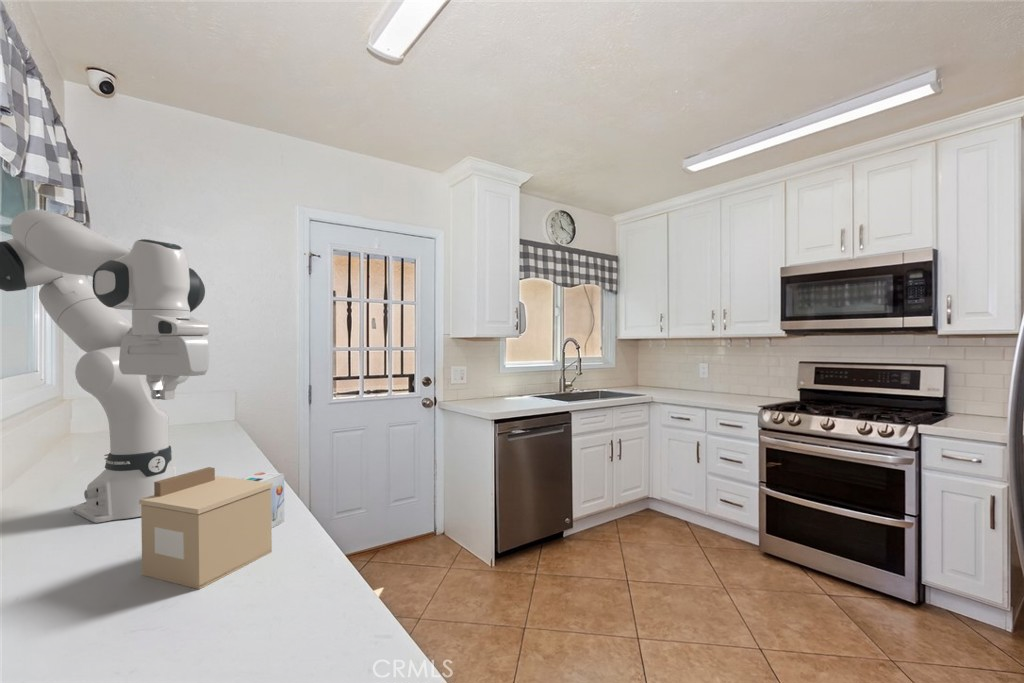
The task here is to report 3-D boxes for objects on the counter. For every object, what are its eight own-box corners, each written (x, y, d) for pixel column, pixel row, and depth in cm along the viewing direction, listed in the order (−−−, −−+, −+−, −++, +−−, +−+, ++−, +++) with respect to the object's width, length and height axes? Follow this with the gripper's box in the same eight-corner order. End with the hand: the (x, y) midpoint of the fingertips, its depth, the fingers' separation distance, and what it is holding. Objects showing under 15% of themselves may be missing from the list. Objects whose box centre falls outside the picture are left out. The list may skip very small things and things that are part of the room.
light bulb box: (250, 541, 93) (249, 487, 93) (221, 538, 95) (220, 485, 94) (286, 520, 104) (285, 472, 104) (259, 518, 105) (259, 470, 105)
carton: (141, 575, 80) (140, 505, 80) (218, 541, 93) (217, 481, 93) (198, 589, 75) (197, 515, 75) (271, 551, 88) (270, 488, 88)
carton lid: (139, 504, 80) (138, 485, 80) (218, 480, 93) (217, 464, 93) (198, 514, 75) (197, 494, 75) (272, 487, 88) (272, 470, 88)
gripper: (107, 326, 89) (108, 399, 89) (181, 324, 82) (182, 403, 82) (143, 327, 95) (144, 395, 95) (215, 325, 88) (216, 399, 88)
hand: (163, 399), depth 88 cm, fingers closed
